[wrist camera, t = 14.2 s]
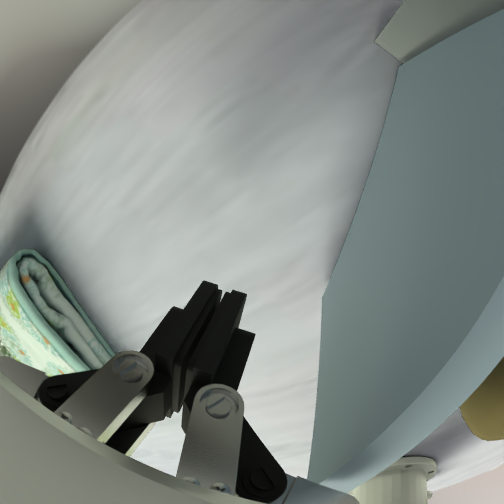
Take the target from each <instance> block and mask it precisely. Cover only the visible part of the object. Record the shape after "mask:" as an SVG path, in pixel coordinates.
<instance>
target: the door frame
mask: <svg viewBox="0 0 504 504" xmlns="http://www.w3.org/2000/svg"><path fill="white" fill-rule="evenodd" d="M502 9H504V0H405V1H404V2H403V3H402V5H401V6H400V7H399V9H398V10H397V11H396V13H395V14H394V15H393V17H392V18H391V20H390V21H389V22H388V24H387V25H386V26H385V28H384V29H383V30H382V32H381V33H380V35H379V36H378V37H377V39H376V40H375V41H374V42H375V43H377V44H378V45H379V46H381V47H382V48H383V49H385V50H386V51H387V52H389V53H390V54H391V55H393V56H394V57H395V58H397V59H398V60H399V61H400V62H402V63H403V64H404V63H406V62H408V61H409V60H411V59H412V58H414V57H416V56H417V55H419V54H421V53H422V52H424V51H426V50H428V49H429V48H431V47H433V46H434V45H436V44H438V43H440V42H441V41H443V40H445V39H447V38H448V37H450V36H452V35H454V34H456V33H457V32H459V31H461V30H463V29H465V28H467V27H469V26H471V25H472V24H474V23H476V22H478V21H480V20H482V19H484V18H486V17H488V16H490V15H492V14H494V13H496V12H498V11H500V10H502Z"/></svg>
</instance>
